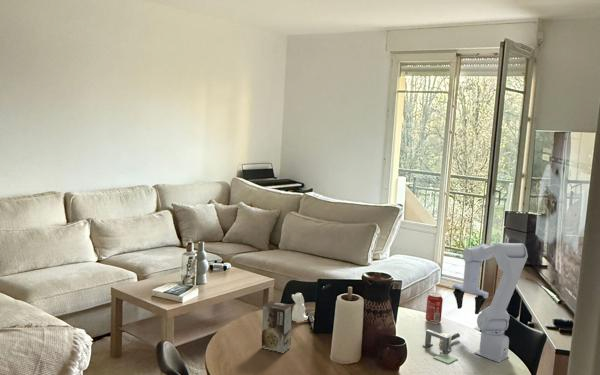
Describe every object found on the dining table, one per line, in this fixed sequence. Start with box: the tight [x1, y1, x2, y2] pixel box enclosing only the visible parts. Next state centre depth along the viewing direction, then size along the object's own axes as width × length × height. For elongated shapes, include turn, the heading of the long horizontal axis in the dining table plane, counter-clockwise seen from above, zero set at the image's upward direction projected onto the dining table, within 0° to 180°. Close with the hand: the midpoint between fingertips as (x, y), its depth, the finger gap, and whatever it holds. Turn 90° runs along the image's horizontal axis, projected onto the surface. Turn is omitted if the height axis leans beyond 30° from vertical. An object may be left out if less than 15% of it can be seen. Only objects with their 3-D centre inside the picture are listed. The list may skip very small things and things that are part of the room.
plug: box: [439, 332, 461, 349], centre depth 211 cm, size 4×12×4 cm, turn 134°
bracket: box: [422, 329, 451, 355], centre depth 205 cm, size 9×4×6 cm, turn 44°
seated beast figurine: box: [291, 292, 309, 322], centre depth 226 cm, size 10×9×12 cm
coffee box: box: [261, 300, 294, 353], centre depth 197 cm, size 9×6×16 cm
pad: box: [433, 353, 458, 365], centre depth 197 cm, size 6×6×1 cm
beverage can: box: [425, 292, 444, 325], centre depth 233 cm, size 6×6×12 cm
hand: (468, 310), depth 219 cm, fingers open, 7 cm apart
